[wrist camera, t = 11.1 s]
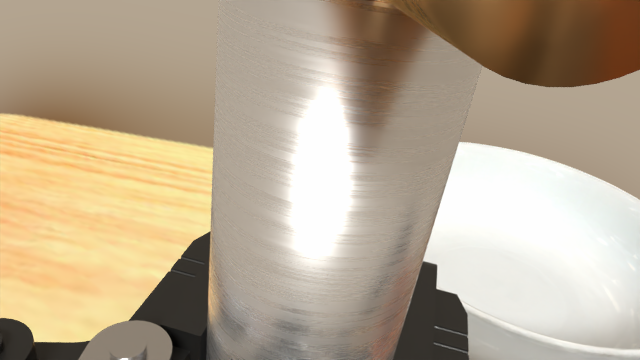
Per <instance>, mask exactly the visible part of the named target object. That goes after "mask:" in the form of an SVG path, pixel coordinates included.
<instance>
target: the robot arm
mask: <svg viewBox="0 0 640 360" xmlns="http://www.w3.org/2000/svg"><path fill="white" fill-rule="evenodd" d="M210 235H211V231H210V232H208V233H207V234H205V235H203V236H201V237H199V238H198V239H196V240H194V241H193V242H192V243H191V245H190V246H189V247H188V248H187V250H186V251H185V252H184V253H183V255H182V256H181V259H178V261H177V262H176V263H175V264H174V266H173V267H172V268H171V271H170V272H168V273H167V274H166V275H165V277H164V278H163V279H162V280H161V282H160V283H159V284H158V285H157V287H156V288H155V289H154V290H153V291H152V293H151V294H150V295H149V296H148V298H147V299H146V300H145V301H144V303H143V304H142V305H141V306H140V307H139V309H138V310H137V311H136V312H135V314H134V315H133V316H132V317H131V319H130V320H129V321H125V322H121V323H117V324H114V325H112V326H110V327H108V328H106V329H104V330H102V331H101V332H99V333H98V334H97V335H96V336H95V337H94V338H93V339H92V340H91V341H86V342H75V343H61V342H34V339H33V335H32V332H31V330H30V329H29V327H27V326H26V325H25V324H24V323H22V322H20V321H17V320H13V319H7V318H0V360H206V348H207V320H208V291H209V263H210ZM436 287H437V264H433V263H429V262H425V261H423V262H422V265H421V269H420V272H419V275H418V278H417V282H416V285H415V288H414V292H413V295H412V298H411V301H410V305H409V308H408V311H407V315H406V318H405V321H404V324H403V328H402V331H401V334H400V338H399V341H398V344H397V347H396V351H395V354H394V357H393V360H469V355H468V351H469V345H468V338H467V337H468V314H467V312H466V310H465V308H464V306H463V305H462V303H461V301H460V299H459V297H458V295H457V294H454V293H450V292H446V291H443V290H439V289H436Z"/></svg>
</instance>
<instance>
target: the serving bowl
mask: <svg viewBox="0 0 640 360" xmlns="http://www.w3.org/2000/svg"><path fill="white" fill-rule="evenodd" d="M423 261H425V262H429V263H433V264H437V287H436V289H439V290H443V291H446V292H450V293H454V294H457V295H458V297H459V299H460V301H461V303H462V305H463V306H464V308H465V310H466V312H467V314H468V337H467V338H468V345H469V351H468V355H469V360H640V200H639V199H637V198H636V197H634V196H632V195H630V194H629V193H627V192H625V191H623V190H621V189H619V188H617V187H615V186H613V185H611V184H609V183H607V182H605V181H603V180H601V179H599V178H596V177H594V176H592V175H589V174H587V173H585V172H582V171H580V170H577V169H574V168H572V167H569V166H567V165H564V164H560V163H558V162H555V161H552V160H549V159H545V158H542V157H539V156H536V155H532V154H528V153H524V152H520V151H516V150H511V149H505V148H500V147H496V146H490V145H483V144H476V143H467V142H459V144H458V147H457V151H456V154H455V157H454V160H453V164H452V167H451V170H450V174H449V177H448V180H447V183H446V187H445V190H444V193H443V196H442V200H441V203H440V206H439V210H438V213H437V216H436V219H435V223H434V226H433V229H432V233H431V236H430V239H429V242H428V246H427V249H426V252H425V256H424V259H423Z"/></svg>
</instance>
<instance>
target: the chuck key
mask: <svg viewBox="0 0 640 360" xmlns="http://www.w3.org/2000/svg"><path fill="white" fill-rule="evenodd" d="M482 66H484V67H486V68H488V69H490V70H492V71H494V72H496V73H498V74H499V75H501V76H503V77H506V78H510V79H513V80H516V81H519V82H522V83H525V84H532V85H538V86H545V87H576V86H582V85H590V84H597V83H600V82H604V81H608V80H612V79H616V78H619V77H622V76H624V75H627V74H629V73H632V72H635V71H637V70H640V0H219V9H218V37H217V65H216V94H215V95H216V96H215V123H214V150H213V178H212V207H211V235H210V263H209V291H208V320H207V348H206V360H393V357H394V354H395V351H396V347H397V344H398V341H399V338H400V334H401V331H402V328H403V324H404V321H405V318H406V315H407V311H408V308H409V305H410V301H411V298H412V295H413V292H414V288H415V285H416V282H417V278H418V275H419V272H420V269H421V265H422V262H423V259H424V256H425V252H426V249H427V246H428V242H429V239H430V236H431V233H432V229H433V226H434V223H435V219H436V216H437V213H438V210H439V206H440V203H441V200H442V196H443V193H444V190H445V187H446V183H447V180H448V177H449V174H450V170H451V167H452V164H453V160H454V157H455V154H456V151H457V147H458V144H459V140H460V137H461V134H462V131H463V128H464V124H465V121H466V118H467V114H468V111H469V108H470V105H471V101H472V98H473V95H474V91H475V88H476V85H477V82H478V78H479V75H480V72H481V68H482Z"/></svg>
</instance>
